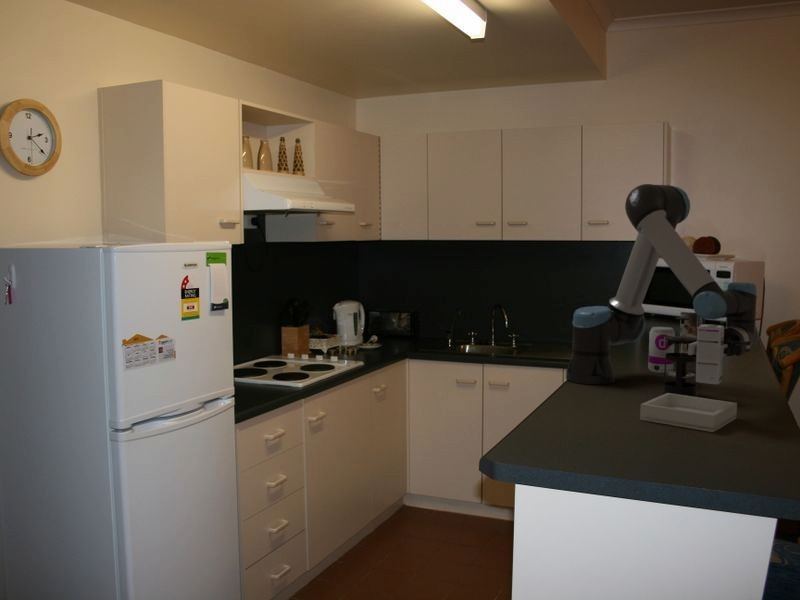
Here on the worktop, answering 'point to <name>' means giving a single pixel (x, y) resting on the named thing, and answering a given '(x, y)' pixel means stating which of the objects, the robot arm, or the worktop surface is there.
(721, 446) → the worktop surface
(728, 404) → the bin
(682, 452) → the worktop surface
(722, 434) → the worktop surface
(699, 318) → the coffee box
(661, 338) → the supplement can
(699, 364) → the syrup box
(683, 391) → the french press
